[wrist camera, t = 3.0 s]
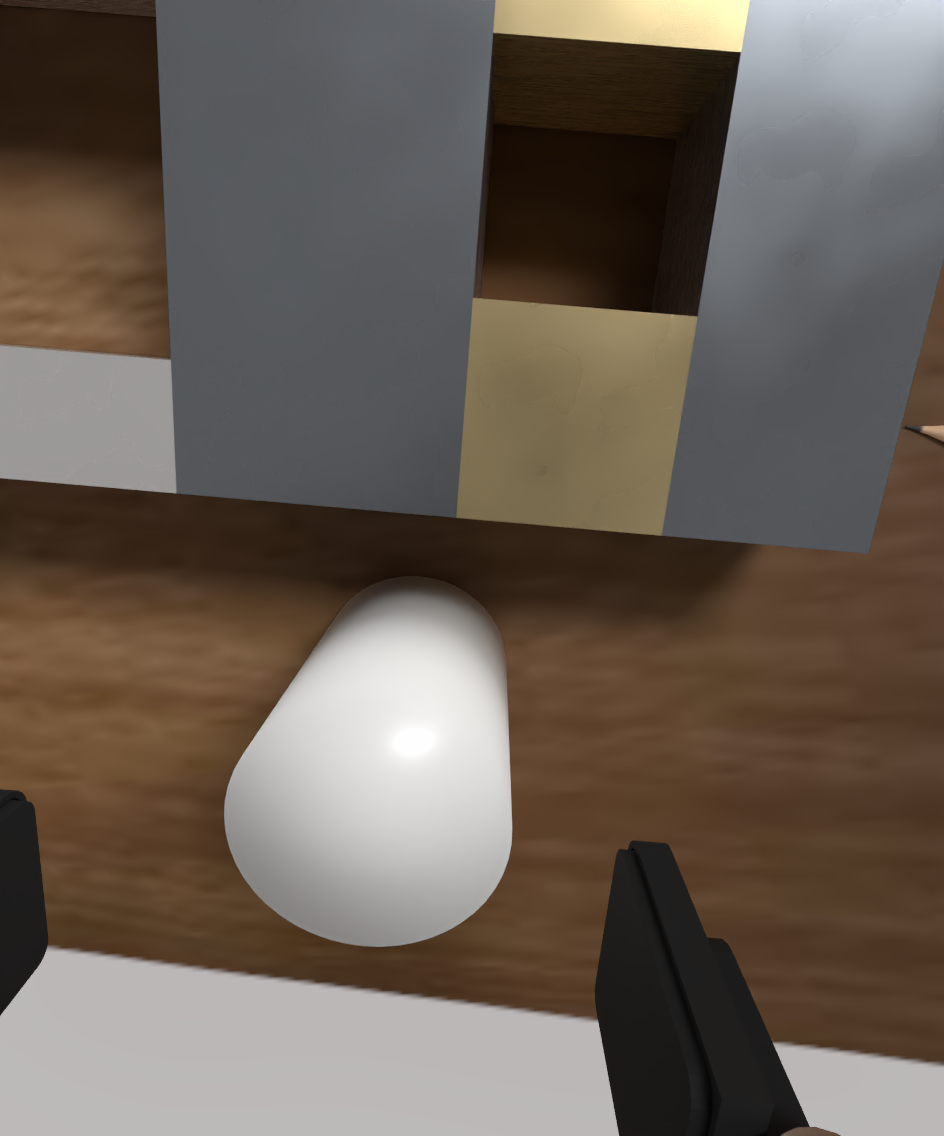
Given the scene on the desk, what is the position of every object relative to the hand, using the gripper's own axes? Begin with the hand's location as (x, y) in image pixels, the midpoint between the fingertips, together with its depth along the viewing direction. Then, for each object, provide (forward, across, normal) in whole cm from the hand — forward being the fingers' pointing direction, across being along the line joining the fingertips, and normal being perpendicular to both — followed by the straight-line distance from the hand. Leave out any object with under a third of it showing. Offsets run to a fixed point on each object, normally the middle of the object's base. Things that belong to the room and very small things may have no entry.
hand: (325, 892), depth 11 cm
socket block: (+8, +2, -12) cm, 14 cm away
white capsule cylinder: (+8, -1, 0) cm, 8 cm away
